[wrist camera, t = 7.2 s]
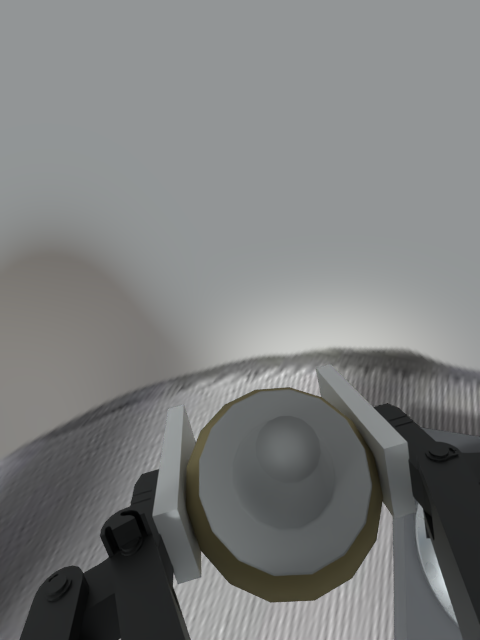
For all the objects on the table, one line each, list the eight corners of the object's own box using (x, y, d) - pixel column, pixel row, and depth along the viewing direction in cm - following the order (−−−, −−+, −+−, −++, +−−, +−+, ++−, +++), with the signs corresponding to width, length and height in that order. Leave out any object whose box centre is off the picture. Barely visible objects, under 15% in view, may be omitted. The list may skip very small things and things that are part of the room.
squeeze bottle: (374, 514, 21) (652, 498, 6) (267, 616, 19) (241, 1013, 4) (285, 407, 25) (306, 214, 9) (187, 484, 23) (2, 408, 7)
